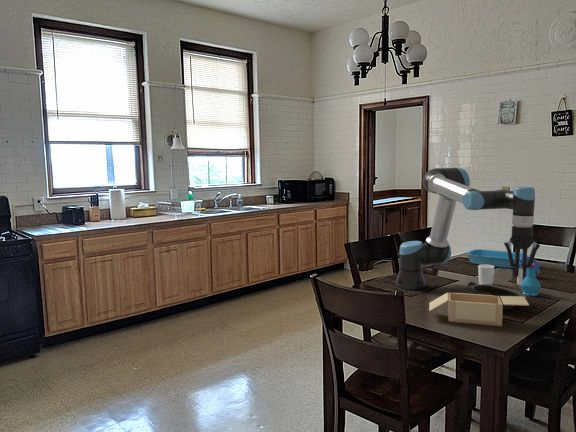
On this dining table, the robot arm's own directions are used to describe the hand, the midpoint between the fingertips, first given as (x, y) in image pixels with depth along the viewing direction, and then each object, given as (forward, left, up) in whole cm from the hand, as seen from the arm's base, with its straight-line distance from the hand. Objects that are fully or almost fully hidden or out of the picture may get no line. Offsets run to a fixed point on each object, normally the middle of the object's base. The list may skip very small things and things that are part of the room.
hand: (519, 283), depth 185 cm
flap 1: (-31, 0, -10) cm, 32 cm away
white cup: (-7, +59, -16) cm, 62 cm away
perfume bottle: (+12, +46, -16) cm, 51 cm away
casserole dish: (+4, +113, -17) cm, 114 cm away
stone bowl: (-6, +23, -17) cm, 29 cm away
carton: (-17, 0, -16) cm, 23 cm away
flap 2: (-2, 0, -7) cm, 7 cm away
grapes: (+17, +81, -16) cm, 85 cm away
